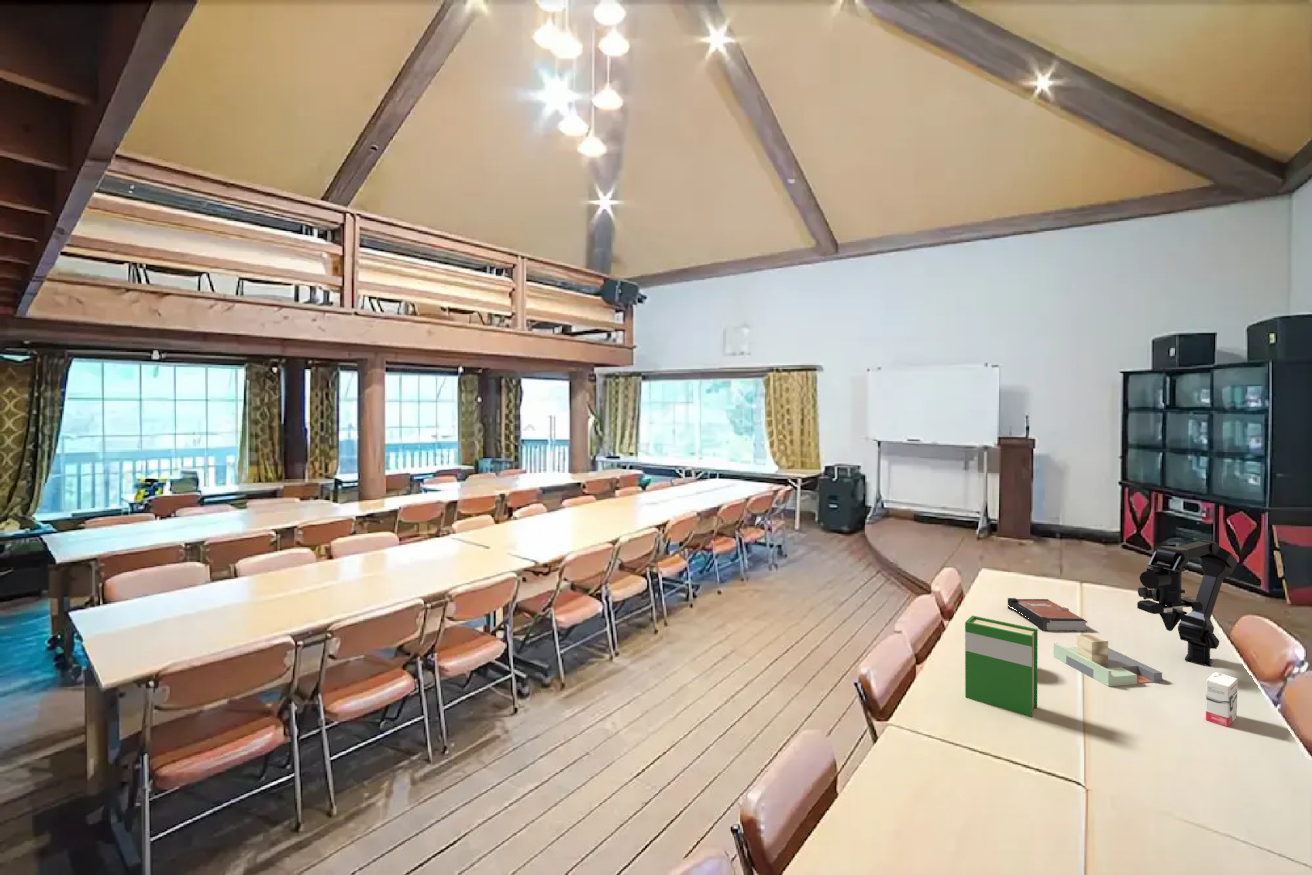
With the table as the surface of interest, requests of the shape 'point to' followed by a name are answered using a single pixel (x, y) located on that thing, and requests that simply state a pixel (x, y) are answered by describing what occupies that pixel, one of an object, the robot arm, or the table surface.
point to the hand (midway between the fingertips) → (1169, 630)
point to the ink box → (1221, 699)
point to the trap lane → (1109, 667)
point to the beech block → (1093, 648)
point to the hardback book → (1001, 664)
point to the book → (1047, 615)
